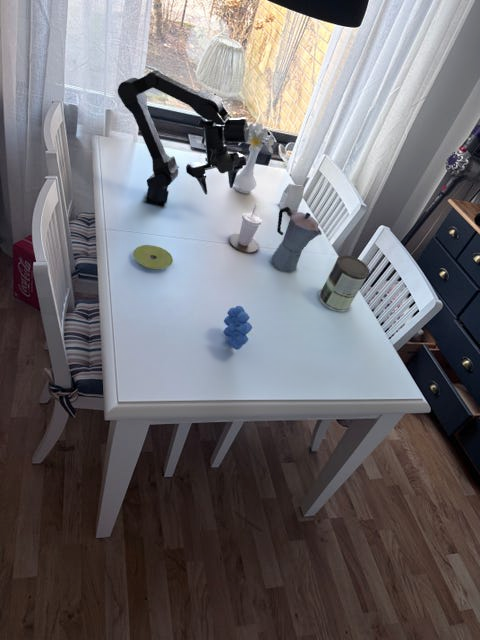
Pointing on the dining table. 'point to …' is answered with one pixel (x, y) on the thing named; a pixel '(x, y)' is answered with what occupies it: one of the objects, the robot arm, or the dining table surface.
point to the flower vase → (252, 157)
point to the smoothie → (249, 227)
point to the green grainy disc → (153, 257)
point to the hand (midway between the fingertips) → (218, 190)
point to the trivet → (245, 249)
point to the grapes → (237, 327)
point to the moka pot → (294, 239)
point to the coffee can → (343, 283)
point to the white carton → (292, 197)
